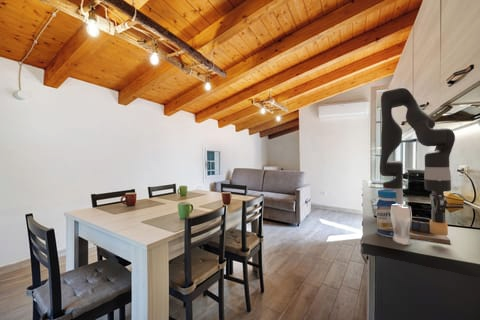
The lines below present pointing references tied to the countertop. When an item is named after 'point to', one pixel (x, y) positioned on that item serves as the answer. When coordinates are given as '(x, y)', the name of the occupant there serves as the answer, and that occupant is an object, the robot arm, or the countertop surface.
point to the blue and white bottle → (385, 212)
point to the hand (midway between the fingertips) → (438, 221)
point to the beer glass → (401, 223)
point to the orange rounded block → (438, 225)
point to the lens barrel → (421, 225)
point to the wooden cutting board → (429, 237)
